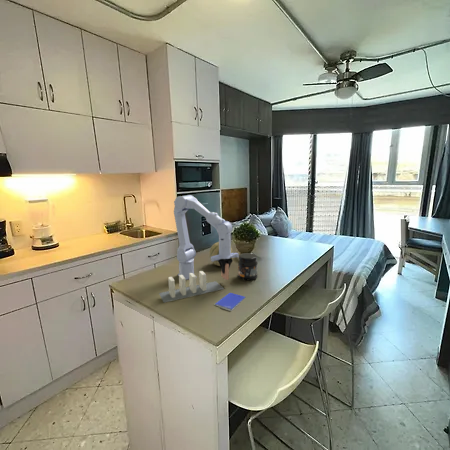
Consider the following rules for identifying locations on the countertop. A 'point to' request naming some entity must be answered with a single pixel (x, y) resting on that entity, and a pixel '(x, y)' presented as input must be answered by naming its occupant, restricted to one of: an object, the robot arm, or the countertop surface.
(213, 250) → the beige rounded lump
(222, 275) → the salmon orange end domino
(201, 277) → the domino
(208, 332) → the countertop surface
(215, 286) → the domino mat
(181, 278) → the domino
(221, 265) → the robot arm
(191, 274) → the domino
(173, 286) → the domino
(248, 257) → the supplement container
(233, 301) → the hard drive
